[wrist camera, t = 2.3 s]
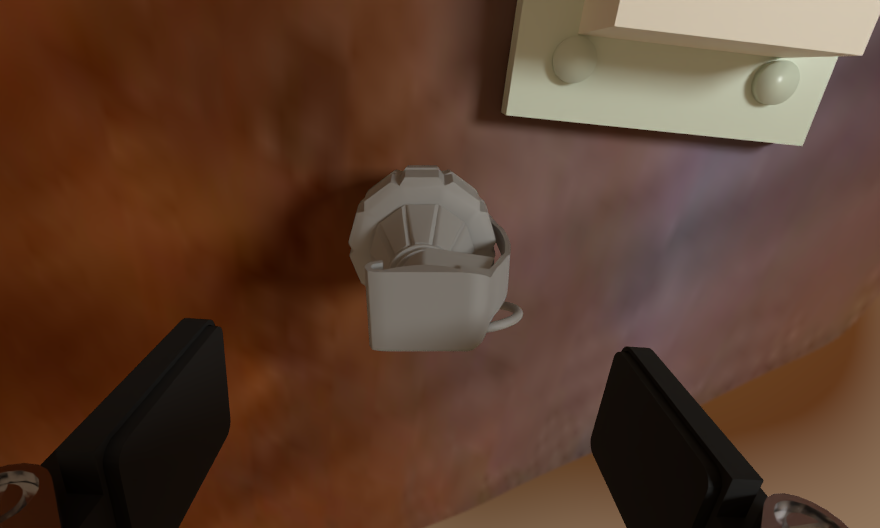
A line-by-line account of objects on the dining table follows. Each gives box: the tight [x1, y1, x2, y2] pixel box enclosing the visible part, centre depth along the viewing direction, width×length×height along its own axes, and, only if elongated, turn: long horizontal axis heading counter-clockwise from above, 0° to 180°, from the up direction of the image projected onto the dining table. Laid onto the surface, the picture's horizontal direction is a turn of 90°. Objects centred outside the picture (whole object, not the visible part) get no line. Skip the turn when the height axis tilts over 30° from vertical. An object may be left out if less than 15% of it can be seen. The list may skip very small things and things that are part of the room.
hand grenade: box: [348, 166, 523, 351], centre depth 18 cm, size 6×6×11 cm
